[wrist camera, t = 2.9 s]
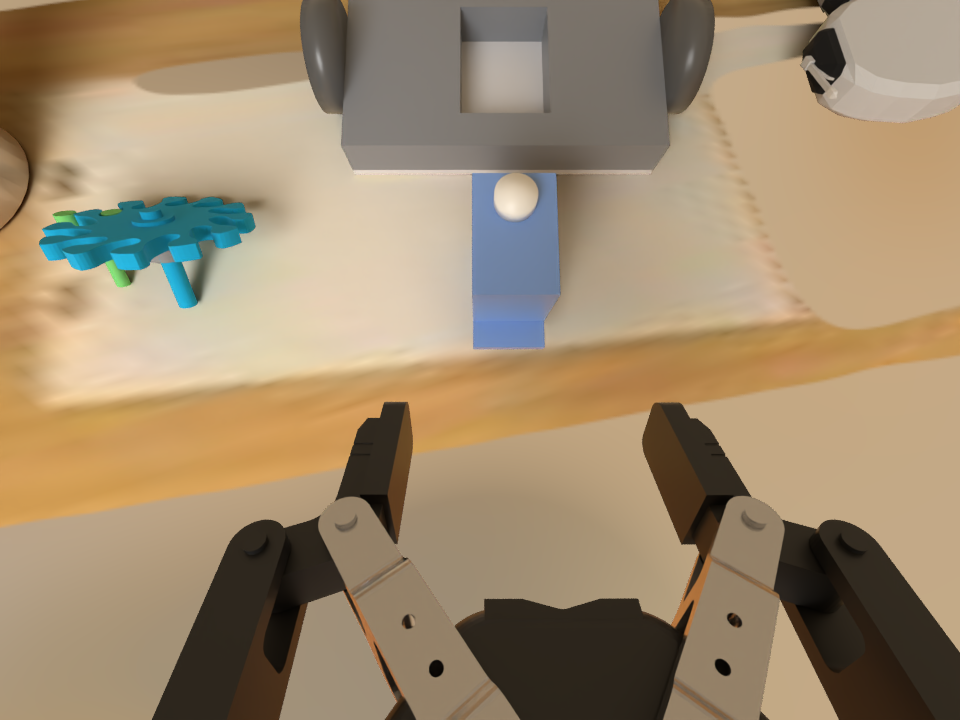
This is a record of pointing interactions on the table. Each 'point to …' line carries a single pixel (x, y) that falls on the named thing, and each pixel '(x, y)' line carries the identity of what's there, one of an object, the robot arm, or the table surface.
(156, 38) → the table surface
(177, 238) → the gear
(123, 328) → the table surface
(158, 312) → the table surface
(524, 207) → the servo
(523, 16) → the chassis
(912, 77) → the robot toy
